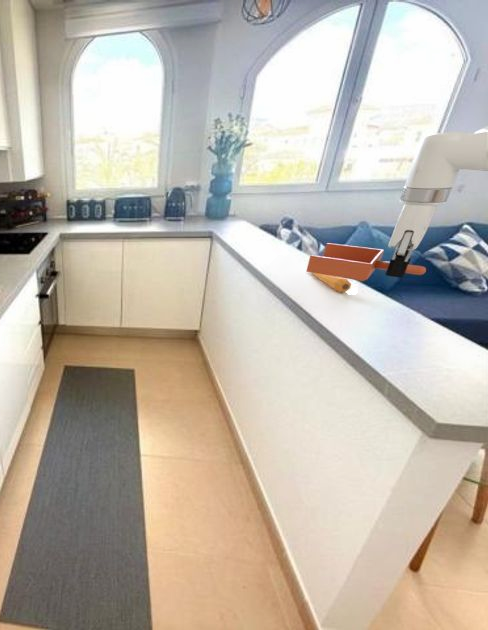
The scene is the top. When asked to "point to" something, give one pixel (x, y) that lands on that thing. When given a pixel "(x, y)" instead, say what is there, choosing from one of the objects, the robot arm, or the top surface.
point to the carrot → (334, 282)
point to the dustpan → (352, 262)
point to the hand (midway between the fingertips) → (395, 274)
